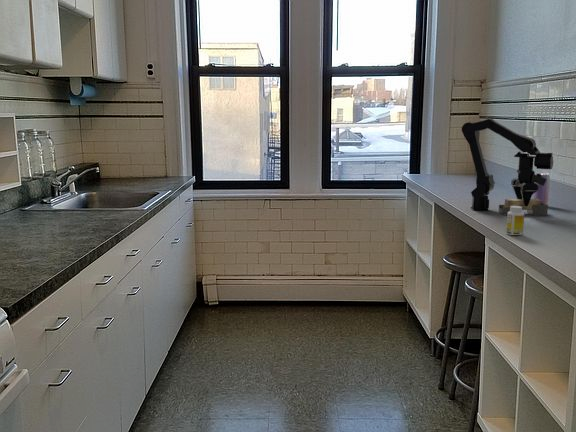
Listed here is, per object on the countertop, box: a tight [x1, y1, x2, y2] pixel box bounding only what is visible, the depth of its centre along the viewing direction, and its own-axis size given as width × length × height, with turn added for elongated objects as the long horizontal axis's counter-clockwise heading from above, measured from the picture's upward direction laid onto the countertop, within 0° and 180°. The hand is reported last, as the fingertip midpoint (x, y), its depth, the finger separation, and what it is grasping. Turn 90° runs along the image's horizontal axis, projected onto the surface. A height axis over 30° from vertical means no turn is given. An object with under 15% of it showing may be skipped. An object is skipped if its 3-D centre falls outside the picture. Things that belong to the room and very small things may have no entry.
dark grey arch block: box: [498, 204, 510, 216], centre depth 249 cm, size 4×8×3 cm, turn 174°
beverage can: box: [533, 172, 551, 206], centre depth 266 cm, size 6×6×15 cm
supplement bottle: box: [505, 206, 525, 236], centre depth 207 cm, size 6×6×10 cm
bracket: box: [526, 202, 549, 217], centre depth 248 cm, size 6×8×4 cm
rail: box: [504, 198, 542, 211], centre depth 248 cm, size 14×4×4 cm, turn 87°
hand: (523, 204), depth 248 cm, fingers open, 9 cm apart
